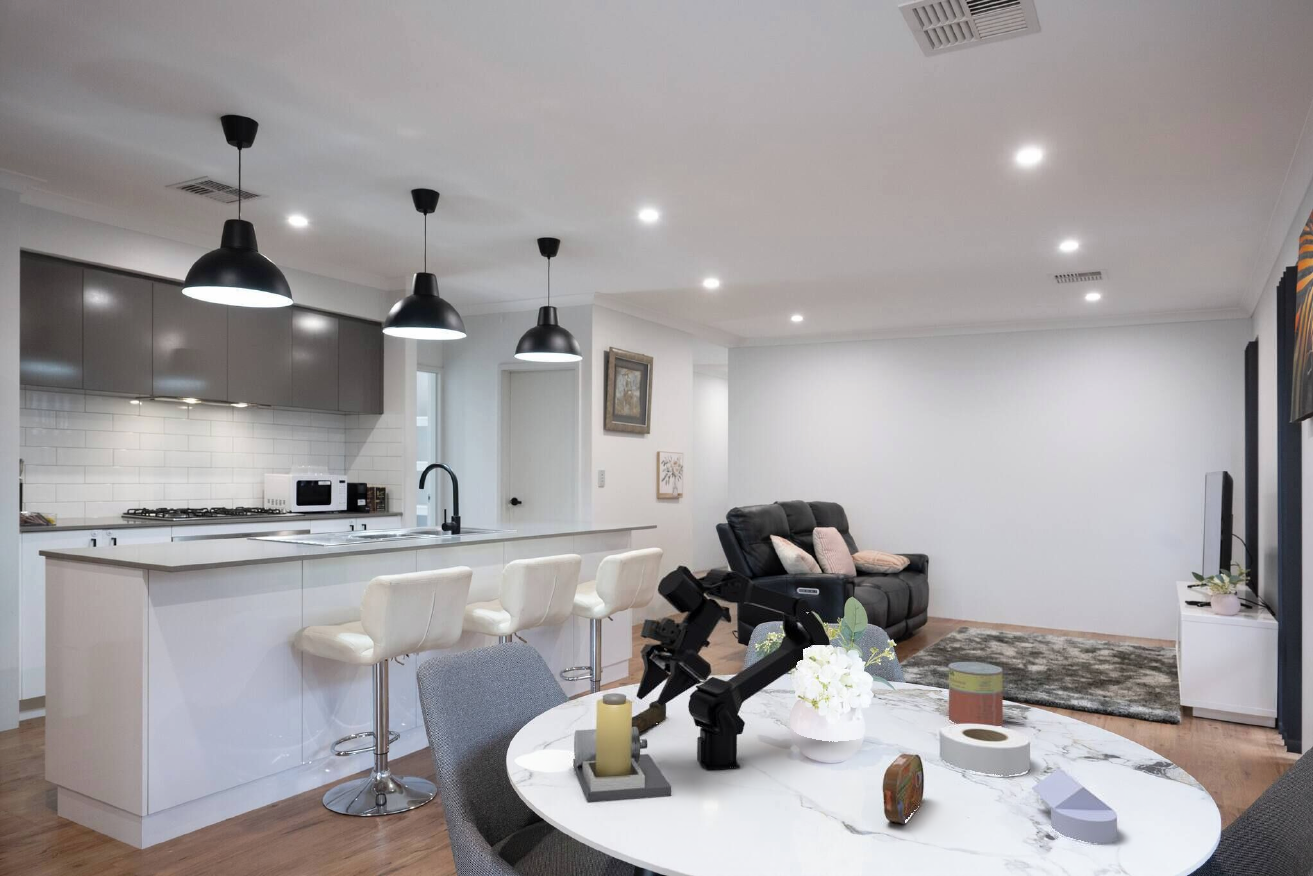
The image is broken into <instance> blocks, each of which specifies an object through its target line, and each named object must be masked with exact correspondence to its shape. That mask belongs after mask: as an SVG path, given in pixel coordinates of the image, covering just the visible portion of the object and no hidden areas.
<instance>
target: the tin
mask: <svg viewBox="0 0 1313 876" xmlns="http://www.w3.org/2000/svg"><path fill="white" fill-rule="evenodd" d="M882 780H883V781H882V795H883V807H884V808H883V813H884V815H885V816H884V817H885V818H886V820H887V821H889V822H892V823H897V822H898V823H899V824H902V825H906V824H905V820H906V819H908V817H910V815H911V813H913V812H915V811H914V810H916V809H917V808H918V806H920V807H921V805H922V802H923V797H924V789H925V784H924V783H925V775H924V765H923V762H922V758H921V756H920V755H919V754H917V753H916V754H910V753H902V754H899V756H898V757H896V759H895V760H893V762H891V764H890V765H889V766H888V767H887V768H886V770H885V772H884V775H883V779H882ZM920 804H921V805H920ZM915 813H916V812H915ZM898 823H897V824H898Z"/></svg>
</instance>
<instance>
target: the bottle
mask: <svg viewBox="0 0 1313 876" xmlns="http://www.w3.org/2000/svg"><path fill="white" fill-rule="evenodd" d="M632 703H633V701H632V700H630V699H627V695H626V694H623V693H615V692H614V693H606V694H603V695H602V698H601V699H599V700H597V701H596V719H595V720H596V727H595V729H596V775H595V778H596V777H611V776H625V775H631V734H632V717H633V704H632Z"/></svg>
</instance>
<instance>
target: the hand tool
mask: <svg viewBox="0 0 1313 876" xmlns="http://www.w3.org/2000/svg"><path fill="white" fill-rule="evenodd" d="M657 700H658V699H656V700H654V701H652V702H650V703H649V705H648V707H647V709H645V710H644V711H641V712H639V713H637V714H636V715H634V716H632V727H637V729H638V731H639V734H641V732H644V731H646V730H647V729H649V728H650V727H651V726H653V725H656V724H655V723H658V724H657V725H660V724H659V723H660V722H662V721H663V720H664V721H665V719H666V717H667V703H666V704H664V705H663V706H660V705H659V704H658V703H657ZM664 721H663V722H664ZM663 722H662V723H663Z"/></svg>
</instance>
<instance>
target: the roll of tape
mask: <svg viewBox="0 0 1313 876" xmlns="http://www.w3.org/2000/svg"><path fill="white" fill-rule="evenodd" d="M940 757H941V758H942V760H944V761H945V762H946V763H949V764H950V765H953V766H955V767H958V768H961V769H965V770H972V771H975V772H981V773H985V774H994V775H995V774H996V775H1000V776H1001V775H1003V776H1009V775H1015V774H1021V773H1023V772H1026V771H1028V770H1029V769H1030V770H1031V740H1030V738H1029V737H1028V736H1027V735H1026V734H1024V733H1021V732H1020V731H1017V730H1014V729H1010V728H1007V727H1004V726H1003V727H998V726H992V725H984V724H949V725H946V726H944V727H942V728H940V729H939V758H940ZM942 760H941V761H942Z"/></svg>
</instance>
